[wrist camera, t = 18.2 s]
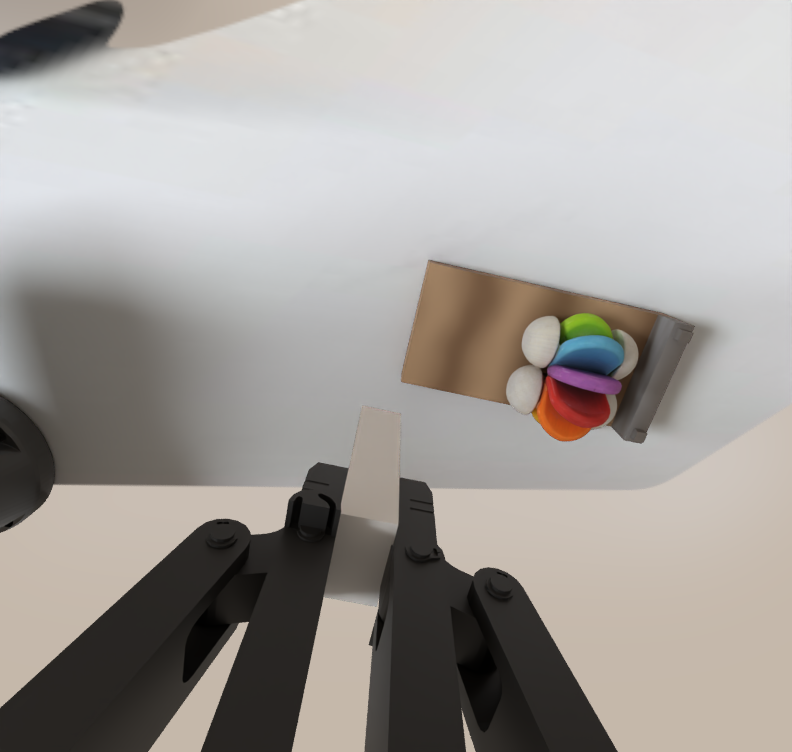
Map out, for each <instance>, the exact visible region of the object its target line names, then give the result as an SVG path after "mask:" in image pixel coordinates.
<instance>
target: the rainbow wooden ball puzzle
mask: <svg viewBox="0 0 792 752" xmlns="http://www.w3.org/2000/svg"><path fill="white" fill-rule="evenodd" d="M522 350H523V353H524V355H525V357H526V358H527V360H528V361H529V362H530V363H532V364H533V365H527V366H523V367H520V368H519V369H517V370H516V371H514V372H513V373H512V375H511V376H510V378H509V380H508V383H507V388H506V395H507V399H508V401H509V403H510V405H511V406H512V407H513V408H514V409H515V410H516V411H517V412H519V413H521V414H524V415H527V414H529V413H532V415H533V417H534V418H535V420H536V421H537V422H538V423H540V424H541V426H542V427H543V429H544V430H545V431H546V432H547V433H548V434H549V435H550V436H552V437H553V438H555V439H557V440H559V441H574V440H577V439H579V438H582V437H583V436H585V435H586V434H587V433H588V432H589V431H590V430H594V429H599V428H602V427H604V426H605V425H607V424H608V423H609V422H610V421H611V420H612V419H613V418H614V416H615V414H616V410H617V400H616V396H615V394H618V393H619V392H620V391H621V388H622V385H621V383H620V382H619V381H618V380H619V379H622V378H624V377H626V376H627V375H628V374H630V373H631V372H632V370H633V369H634V368H635V366H636V364H637V361H638V348H637V345H636V343H635V341H634V340H633V338H632V337H631V336H630V335H629V334H627V333H625V332H624V331H622V330H618V329H615V330H612V331H611V329H610V327H609V326H608V324H607V323H606V322H605V321H604V320H603V319H601V318H600V317H599V316H597V315H594V314H589V313H581V314H576V315H573V316H571V317H569V318H567V319H566V320H564V321H563V322H562V323H559V320H558V319H557V318H556V317H554V316H545V317H541V318H538V319H536V320H534V321H533V322H532V323H531V324H529V326H528V327H527V328H526V330H525V332H524V334H523V338H522ZM547 366H548V369H547V373H542V370H541V368H544V367H547Z"/></svg>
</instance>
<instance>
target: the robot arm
mask: <svg viewBox="0 0 792 752" xmlns="http://www.w3.org/2000/svg"><path fill="white" fill-rule="evenodd" d="M400 429H401V414H400V413H396V412H391V411H386V410H381V409H376V408H372V407H367V406H362V409H361V414H360V419H359V423H358V428H357V432H356V437H355V442H354V446H353V451H352V455H351V460H350V465H349V468H344V467H339V466H334V465H329V464H324V463H319V462H318V463H317V464H316V465H314V466H313V467H312V468H311V469H309V471H308V474H307V477H306V479H305V482H304V485H303V488H302V491H300V492H298V493H296V494H294V495H293V496H292V497H291V498H290V499H289V502H288V509H287V515H286V520H285V527H284V528H282V529H280V530H279V531H276V532H272V533H268V534H258V535H251V534H250V531H249V530H248V528H247V527H246V525H244V524H242V523H240V522H239V521H235V520H231V519H216V520H213V521H209V522H206V523H204V524H203V525H201V526H200V527H199V528H197V529H196V530H195V531H194V532H193V533H192V534H190V535H189V536H188V537H187V538H186V539H185V540H184V541H183V542H182V543H180V544H179V545H178V546H177V547H176V548H175V549H174V550H173V551H172V552H171V553H170V554H168V555H167V556H166V557H165V558H164V559H163V560H162V561H161V562H160V563H159V564H157V565H156V566H155V567H154V568H153V569H152V570H151V571H150V572H149V573H148V574H147V575H145V576H144V577H143V578H142V579H141V580H140V581H139V582H138V583H137V584H136V585H134V586H133V587H132V588H131V589H130V590H129V591H128V592H127V593H126V594H125V595H124V596H123V597H121V598H120V599H119V600H118V601H117V602H116V603H115V604H114V605H113V606H112V607H110V608H109V609H108V610H107V611H106V612H105V613H104V614H103V615H102V616H101V617H99V618H98V619H97V620H96V621H95V622H94V623H93V624H92V625H91V626H90V627H89V628H87V629H86V630H85V631H84V632H83V633H82V634H81V635H80V636H79V637H78V638H76V640H74V641H73V642H72V643H71V644H70V645H69V646H68V647H67V648H66V649H65V650H63V651H62V652H61V653H60V654H59V655H58V656H57V657H56V658H55V659H53V660H52V661H51V662H50V663H49V664H48V665H47V666H46V667H45V668H44V669H43V670H41V671H40V672H39V673H38V674H37V675H36V676H35V677H34V678H33V679H32V680H30V681H29V682H28V683H27V684H26V685H25V686H24V687H23V688H22V689H21V690H20V691H18V692H17V693H16V694H15V695H14V696H13V697H12V698H11V699H10V700H9V701H7V702H6V703H5V704H4V705H3V706H2V707H1V708H0V752H148V751H149V750H150V748H151V747H152V745H153V744H154V743H155V741H156V740H157V738H158V737H159V736H160V734H161V733H162V731H163V730H164V729H165V727H166V725H167V724H168V723H169V722H170V720H171V719H172V718H173V716H174V715H175V713H176V712H177V711H178V709H179V708H180V706H181V705H182V704H183V702H184V701H185V699H186V698H187V697H188V695H189V694H190V692H191V691H192V690H193V688H194V687H195V685H196V684H197V683H198V681H199V680H200V678H201V677H202V676H203V674H204V673H205V672H206V670H207V669H208V667H209V666H210V665H211V663H212V662H213V660H214V659H215V658H216V656H217V655H218V653H219V652H220V651H221V649H222V647H223V646H224V645H225V644H226V642H227V641H228V640H229V638H230V637H231V635H232V634H233V633H234V631H235V630H236V628H237V626H238V624H239V623H242V622H249V624H248V626H247V629H246V632H245V635H244V637H243V640H242V642H241V645H240V648H239V650H238V653H237V656H236V658H235V661H234V664H233V667H232V669H231V672H230V675H229V677H228V681H227V683H226V685H225V688H224V691H223V693H222V696H221V699H220V702H219V704H218V707H217V709H216V712H215V715H214V718H213V720H212V723H211V726H210V728H209V731H208V734H207V736H206V739H205V742H204V744H203V747H202V750H201V752H292V747H293V742H294V737H295V732H296V727H297V723H298V717H299V712H300V708H301V703H302V698H303V693H304V689H305V683H306V679H307V674H308V669H309V664H310V660H311V654H312V650H313V645H314V640H315V635H316V630H317V626H318V621H319V616H320V611H321V606H322V601H323V597H326V598H331V599H337V600H342V601H348V602H354V603H359V604H364V605H369V606H375V607H376V606H377V603H378V599H379V609H378V612H377V616H376V620H375V623H374V627H373V631H372V635H371V638H370V642H369V645H371V646H373V649H372V662H371V674H370V688H369V701H368V713H367V726H366V739H365V752H466V747H465V738H464V729H463V720H462V711H463V714H464V717H465V720H466V724H467V727H468V730H469V732H470V736H471V739H472V741H473V745H474V748H475V751H476V752H618V751H617V750H616V748H615V746H614V745H613V743H612V741H611V739H610V738H609V736H608V734H607V732H606V731H605V729H604V727H603V726H602V724H601V722H600V720H599V719H598V717H597V715H596V714H595V712H594V710H593V708H592V706H591V705H590V703H589V701H588V699H587V698H586V696H585V694H584V693H583V691H582V689H581V687H580V686H579V684H578V682H577V680H576V679H575V677H574V675H573V674H572V672H571V670H570V668H569V667H568V665H567V663H566V661H565V660H564V658H563V656H562V654H561V653H560V651H559V649H558V647H557V646H556V644H555V642H554V640H553V639H552V637H551V635H550V634H549V632H548V630H547V628H546V627H545V625H544V623H543V621H542V620H541V618H540V616H539V614H538V613H537V611H536V609H535V608H534V606H533V604H532V602H531V601H530V599H529V597H528V596H527V594H526V592H525V590H524V588H523V587H522V586H521V585H520V583H519V582H518V581H517V580H516V579H515V578H514V577H512V576H511V575H510V574H508V573H506V572H504V571H502V570H499V569H495V568H489V567H488V568H483V569H480V570H479V571H477V572H476V573H475V575H474V576H471V575H469V574H467V573H465V572H462V571H460V570H458V569H457V568H455V567H453V566H452V565H450V564H449V563H448V562H446V561H445V557H444V554H443V551H442V550H441V548H440V547H439V546H438V545H437V539H436V528H435V517H434V507H433V496H432V492H431V490H430V489H429V487H428V486H427V484H426V483H425V482H420V481H415V480H410V479H405V478H400V477H399V475H400ZM53 482H54V464H53V459H52V455H51V452H50V450H49V447H48V445H47V443H46V441H45V439H44V437H43V436H42V434H41V433H40V431H39V430H38V428H37V427H36V426H35V425H34V423H33V422H32V421H31V420H30V419H29V418H28V417H27V416H26V415H25V414H24V413H23V412H22V411H21V410H19V409H18V408H17V407H16V406H14V405H13V404H12V403H10V402H9V401H7V400H6V399H4V398H2V397H0V533H1V532H3V531H6V530H8V529H11V528H12V527H14V526H16V525H18V524H19V523H21V522H22V521H23V520H25V519H26V518H27V517H28V516H30V515H31V514H32V513H33V512H35V511H36V510H37V509H38V508H39V507H40V506H41V505H42V504H43V503H44V502H45V501H46V499H47V498H48V496H49V494H50V492H51V490H52V487H53ZM461 708H462V710H461Z"/></svg>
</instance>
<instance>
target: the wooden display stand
mask: <svg viewBox="0 0 792 752" xmlns="http://www.w3.org/2000/svg"><path fill="white" fill-rule="evenodd" d="M581 313H589V314H594V315H597V316H599V317H600V318H601V319H603V320H604V321H605V322H606V323H607V324H608V326H609V327H610V329H611V331H612V330H615V329H618V330H622V331H624V332H625V333H627V334H629V335H630V336H631V337H632V338H633V340H634V341H635V343H636V345H637V348H638V361H637V364H636V366H635V368H634V369H633V370H632V372H631V373H630V374H628V375H627V376H626V377H624V378H622V379H619V380H618V381H619V382H620V383H621V385H622V388H621V391H620V392H619V393H618V394H615V396H616V400H617V410H616V414H615V416H614V418H613V419H612V420H611V421H610V422H609V423H608V424H607V426H611V427H612V428H613V429H614V430H615V431H616V432H617V433H618V434H619V435H620V436H621V438H622V439H623V440H626V441H631V442H636V443H640V444H641V443H643V442H644V440H645V438H646V436H647V433H646V432H647V430H648V428H649V426H650V424H651V421H652V419H653V417H654V415H655V413H656V410H657V408H658V406H659V404H660V402H661V399H662V397H663V395H664V393H665V391H666V388H667V386H668V384H669V382H670V380H671V377H672V375H673V373H674V371H675V369H676V366H677V364H678V362H679V360H680V358H681V355H682V353H683V351H684V349H685V347H686V344H687V343H689V342H690V339H691V337H692V335H693V333H692V331H693V329H694V327H695V326H692V325H690V324H688V323H685V322H683V321H680V320H678V319H675V318H673V317H671V316H668V315H666V314H663V313H659V312H655V311H651V310H646V309H642V308H638V307H633V306H629V305H624V304H620V303H616V302H611V301H607V300H602V299H598V298H594V297H589V296H585V295H580V294H576V293H572V292H567V291H563V290H558V289H554V288H550V287H545V286H541V285H536V284H532V283H528V282H523V281H519V280H514V279H510V278H506V277H501V276H497V275H492V274H488V273H484V272H479V271H475V270H470V269H466V268H462V267H457V266H453V265H448V264H444V263H440V262H435V261H431V260H428V264H427V268H426V273H425V277H424V281H423V285H422V289H421V294H420V298H419V302H418V306H417V310H416V315H415V319H414V323H413V327H412V331H411V336H410V340H409V344H408V348H407V353H406V357H405V361H404V365H403V369H402V374H401V382H404V383H409V384H414V385H418V386H423V387H428V388H432V389H437V390H442V391H447V392H451V393H456V394H461V395H466V396H470V397H475V398H480V399H484V400H489V401H494V402H499V403H503V404H508V405H510V403H509V401H508V399H507V395H506V388H507V383H508V380H509V378H510V376H511V375H512V373H513V372H514V371H516V370H517V369H519V368H520V367H523V366H527V365H533V364H532V363H530V362H529V361H528V360H527V358H526V357H525V355H524V353H523V350H522V338H523V334H524V332H525V330H526V328H527V327H528V326H529V324H531V323H532V322H533V321H534V320H536V319H538V318H541V317H545V316H554V317H556V318H557V319H558V320H559V323H562V322H563V321H564V320H566V319H567V318H569V317H571V316H573V315H576V314H581ZM547 369H548V366H547V367H544V368H541V370H542V373H547Z"/></svg>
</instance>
